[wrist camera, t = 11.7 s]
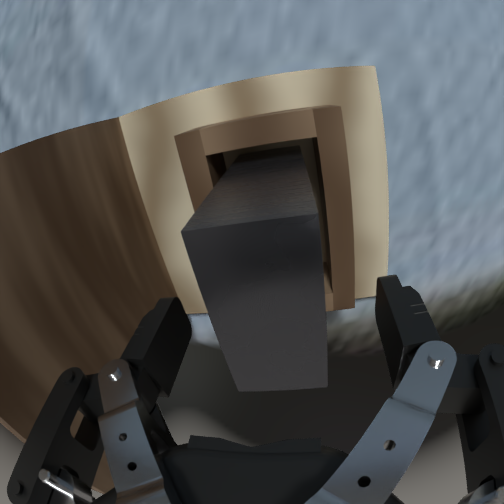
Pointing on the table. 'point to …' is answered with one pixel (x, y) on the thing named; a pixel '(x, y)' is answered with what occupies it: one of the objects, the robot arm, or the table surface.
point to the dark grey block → (263, 271)
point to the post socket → (169, 217)
